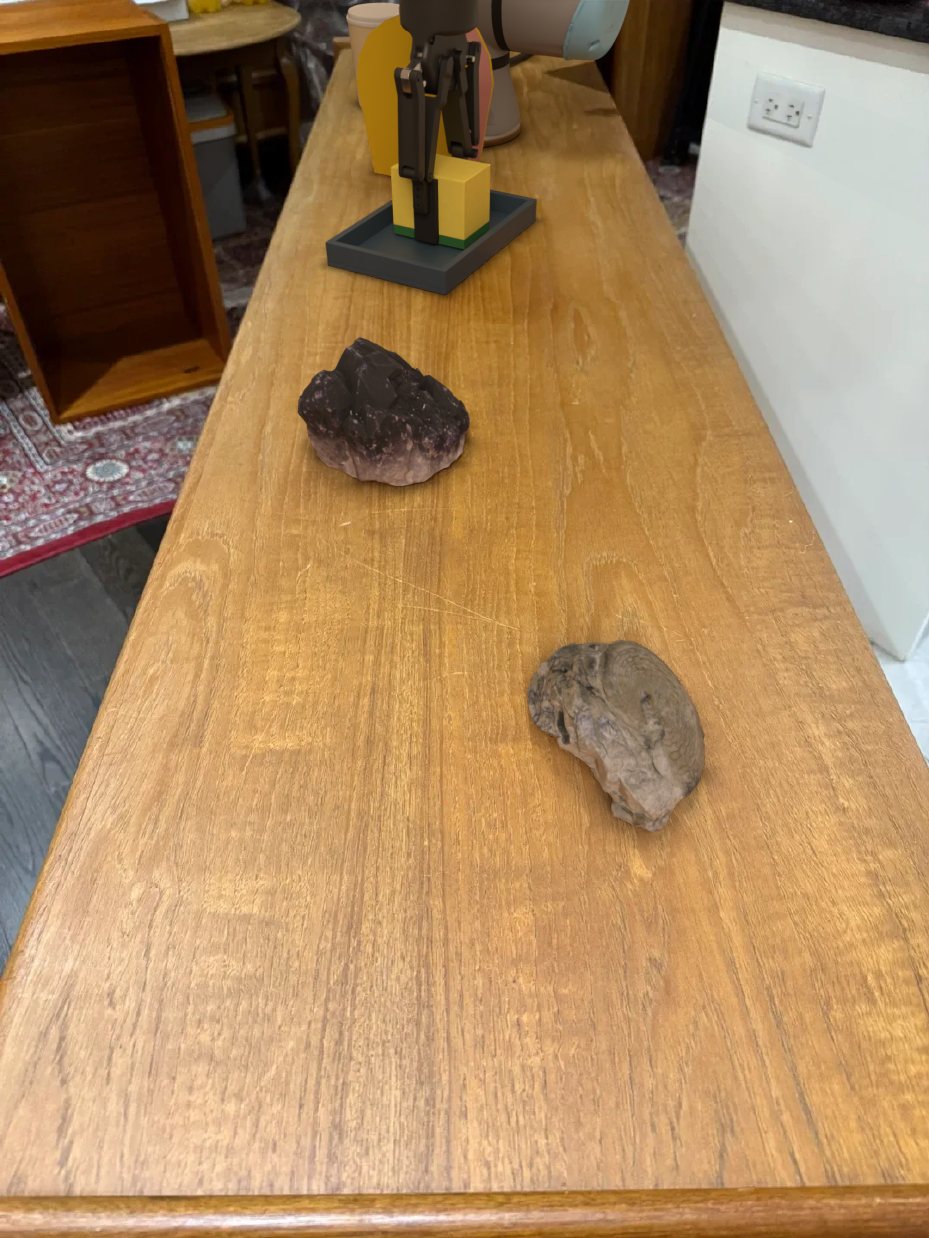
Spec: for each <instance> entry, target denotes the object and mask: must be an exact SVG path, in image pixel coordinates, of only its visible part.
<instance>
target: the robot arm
mask: <svg viewBox="0 0 929 1238" xmlns="http://www.w3.org/2000/svg"><path fill="white" fill-rule="evenodd" d="M398 4H399V7H400V24H401V26H402V28H403V29H404V30H406V31H408V32H409V33H410V34H411V36H412V48H411V53H410V63H409V64H408V65H407V67H406V68H400V67H397V68H396V69H395V71H394V80H395V85H396V91H397V98H398V172H399V176H400V177H402V178H407V179H411V181H412V190H413V209H414V237H415V240H420V241H424V242H428V243H433V244H437V243H438V242H439V203H438V179H434V178H433V176H434V167H435V159H436V150H437V142H438V133H439V125H440V116H441V112H442V118H443V124H444V130H445V136H446V142H447V148H448V153H449V154H452V157H455V158H460V159H465V160H468V158H474V159H476V158H477V155H478V149H474V148H472V147H473V146H478V144H479V141H480V113H479V64H480V56H481V43H480V42H477V41H470V40H467V37H466V33H468V32H471V31H472V30H474V29H475V28H477V29H478V30H479V32H480V34H481V36H482V38H483V40H484V43H485V45H486V47H487V49H488V51H489V53H490V56H491V63H492V71H493V79H494V87H493V92H492V97H491V103H490V108H489V114H488V120H487V126H486V132H485V138H484V144H483V148H485V147H492V146H496V145H501V144H505V143H508V142H510V141H512V140H514V139H515V138H517V137H518V136H519V135H520V132H521V121H522V120H521V112H520V108H519V107H520V106H519V103H518V99H517V94H516V91H515V86H514V83H513V78H512V74H511V67H510V66H511V65H513V64H516V63H519V62H521V61H523V60H524V59H527V58H528V57H530V56H532V55H535V56H541V57H542V56H544V57H549V58H550V57H551V58H559V59H563V60H564V61H566V62H569V61H575V60H577V61H588V62H589V61H591V62H592V61H596V60H599V59H602V58H603V57H604V56H605V55H606V54H607V53H608V52H609V51H610V50H611V48H612V46H613V45H614V43H615V41H616V39H617V38H618V36H619V34H620V31H621V29H622V26H623V24H624V21H625V18H626V14H627V12H628V8H629V4H630V0H398ZM511 52H513V53H517V54H516V55H514V56H511ZM466 65H468V66H467V67H465V66H466ZM425 94H430V95H436V97H430V96H425ZM470 130H471V133H470ZM449 157H451V156H449Z"/></svg>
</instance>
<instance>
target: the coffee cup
mask: <svg viewBox="0 0 929 1238" xmlns="http://www.w3.org/2000/svg"><path fill="white" fill-rule="evenodd" d="M396 15H399V3H394V2H393V3H392V2H370V3H369V2H368V3H361V4H356V5H353V6H351V7H349V8H348V10H347V14H346V18H345V19H346V22H347V26H348V36H349V42H350V51H351V57H352V59H351V60H352V65H353V73H354V79H355V87H356V94H357V101H358V105H359V106H360V107H361V102H360V97H359V92H358V87H357V70H358V57H359V54H360V52H361V50H362V48H363V45H364V43H365V41H366V39H367V36H368V34H369V33H370V32H372V31H373V30H374V29H375V28H376V27H378V26H379V25H380V24H381V23H383V22H384V21H385V20H387V19H389V18H392V17H394V16H396Z"/></svg>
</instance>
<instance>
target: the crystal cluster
mask: <svg viewBox="0 0 929 1238" xmlns="http://www.w3.org/2000/svg"><path fill="white" fill-rule="evenodd" d="M297 415H298V416H299V417H300V418H301V419H302V420H303V421H304V423H305V425H306V430H307V432H306V433H307V437H308V439H309V441H310V443H311V445H312V447H313V449H314V450H315V452H316V454H317V456H318V458H319V459H320V461H322V462H323V464H324V465H326V467H329V468H333V469H335V470H338V471H341V472H343V473H345V474H346V475H348V476H350V477H352V478H355V479H358V480H359V481H360V482H363V483H365V482H366V483H367V482H372V481H374V482H379V483H384V484H388V485H391V486H397V487H403V486H408V485H413V484H418V483H423V482H426V481H428V480H429V479H430V478H432V477H433V476H434V475H435V474H436V473H438V472H440V471H441V470H443V469H446V468H449V467H450V465H451V464H453V462H455V461H456V460H458V458H459V457H460V456H461V455H462V454H463V453H464V446H465V443H466V436H467V433H468V430H469V428H470V425H471V424H470V423H471V422H470V421H471V419H470V413H469V412H468V411H467V409H466V405H465V403H464V402H463V401H462V400H461V399H458V398H457V397H456V396H455V395H454V393H453V392H452V391H451V390H450V388H448V387H447V386H445V385H444V384H443V383H442V382H441V381H439V380H438V379H436V378H435V377H434V376H432V375H431V374H426V375H424V374H423V373H422V372H421V370H420V369H419V368H418V367H416V368H415V367H413V366H412V365H411V364H410V363H409V362H408V361H407V360H406V359H404V358H403V357H402V356H400V354H398V353H397V352H396V351H392V350H388V349H386V348H384V346H381V345H380V344H377V343H375V342H373V341H371V340H369V339H367V338H364V337H361V336H358V337H357V338H356V339H355V340H354V341H353V342H352V344H351V345H348V346H345V348H344V349H343V352H342V354H341V355H340V357H339V360H338V362H337V363H336V366H335V367H334V368H333V369H332V370H327V369H322V370H320V371H319V372H317V373H316V374H314V376H313V377H312V378H311V380H310V382H309V383H308V385H306V387H304V389H303V390H302V393H301V395H299V398H298V400H297Z"/></svg>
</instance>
